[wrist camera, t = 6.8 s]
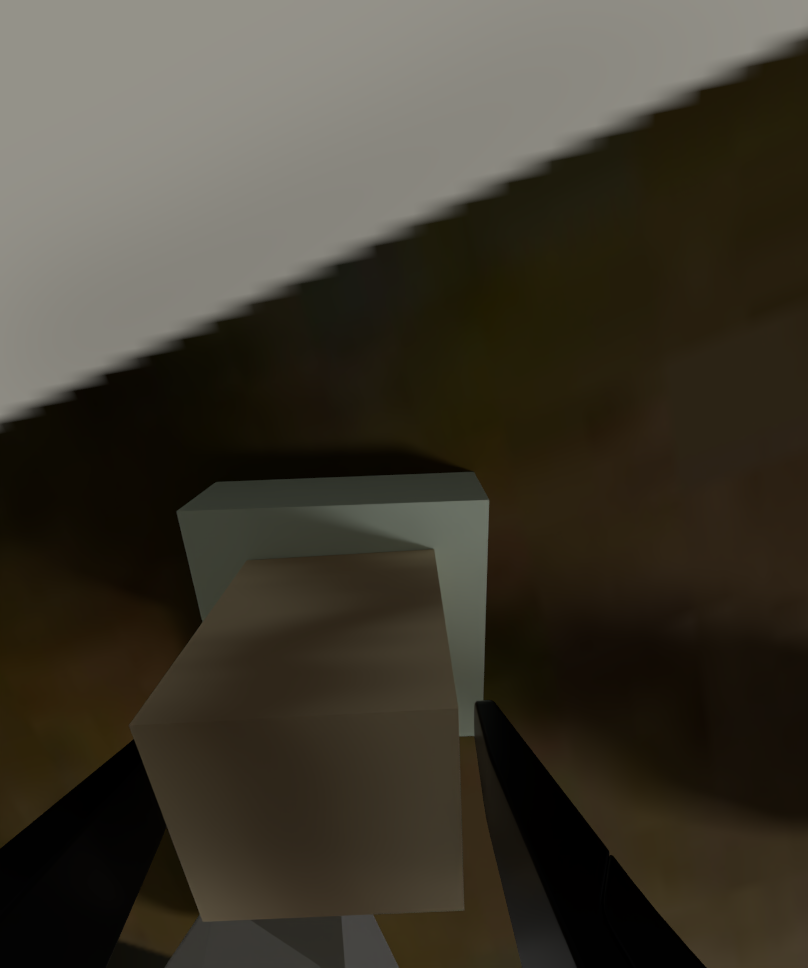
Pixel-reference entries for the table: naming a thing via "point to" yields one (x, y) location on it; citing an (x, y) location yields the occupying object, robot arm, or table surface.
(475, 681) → the foundation slab
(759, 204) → the table surface
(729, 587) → the table surface
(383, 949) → the die
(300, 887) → the maple cube
